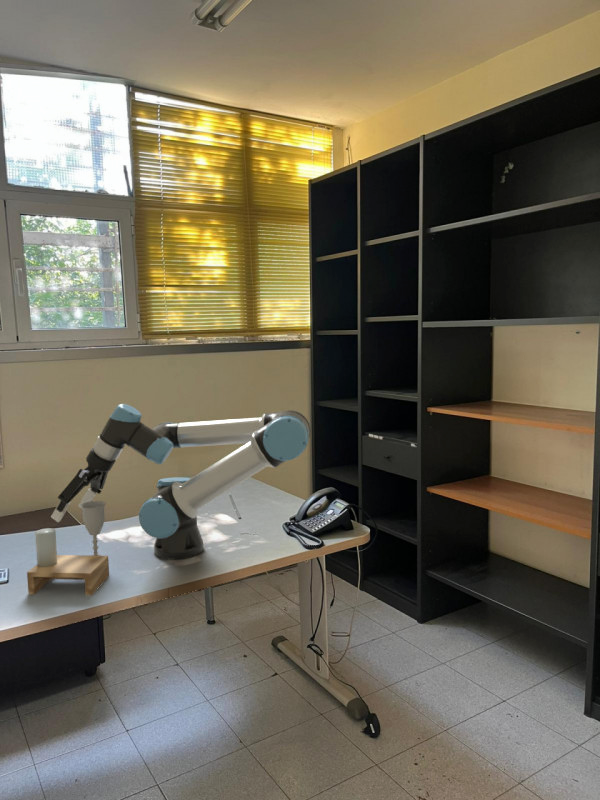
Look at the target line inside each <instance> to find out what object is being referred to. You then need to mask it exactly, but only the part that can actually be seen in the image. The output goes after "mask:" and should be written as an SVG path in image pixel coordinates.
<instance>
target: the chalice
mask: <svg viewBox="0 0 600 800" xmlns="http://www.w3.org/2000/svg"><path fill="white" fill-rule="evenodd" d="M106 505H107V503H106V502H105V501H101V500H92V501H91V502H86V503H83V504H81V505H80V506H81V508H82V509H81V508H80V509H81V510H82V522H83V525H84V526H85V529H86V530H87V532H88V535H90V536H92V542H91V543H92V544H93V546H92V550H93V554H91V556H103V555H102V554H99V552H98V548H99V546H98V542H99V540H98V538H97V537H98V535H100V534H101V531H102V529H103V526H104V524H105V519H106V518H105V517H106V516H105V513H106V512H105V506H106Z"/></svg>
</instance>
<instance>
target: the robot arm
mask: <svg viewBox="0 0 600 800" xmlns="http://www.w3.org/2000/svg"><path fill="white" fill-rule="evenodd" d="M141 419H142V413H141V412H140V411H139V410H138V409H137V408H135V407H133V406H132V405H129V404H126V403H121V404H118V405H117V406H116V407H115V409H114V410H113V412H112V413H111V414H110V416H109V418H108V420H107V422H106V423H105V425H104V427H103V429H102V431H101V433H100V434H99V435H98V436H96V439H97V440H95V443H94V445H93V448H91V449H90V451H89V453H88V455H87V456H86V457H85V459H86V463H87V467H85V468H84V469H83V468H80V469H79V470H78V472H77V473H76V475H75V476H74V477H73V478H72V480H71V481H70V482H69V483H68V484H67V485H66V487H65V488H64V489H63V490H62V491H61V493H60V494H59V495H58V496H57V499H58V500H59V501H58V504H57V506H56V507H55V508H54V511H53V512H52V514H51V516H50V518H52V519H53V520H54V521H55V522H57V523H61V521H62V519H63V517H64V515H65V514H66V512H67V510H68V508H69V507H70V506H71V501H72V500H73V499H74V498H75V497H76V496H77V495H78V494H79V493H80V492H81V491H82V490H83V489H84V488H85V487H87V486H89V485H90V488H87V490H86V492H85V493H84V494H83V497H82V499H81V500H80V502H79V503H78V506H77V507H78V508H79V509H81V510H82V508H81V506H80V505H81V504H83V503H86V502H91V501H94V499H95V497H96V495H97V494H98V495H100V494H101V492H102V490H103V489H104V487H105V483H106V480H107V477H108V473H109V472H110V471H111V470H112V468H113V466H114V465H115V463H116V460H118V458H119V457H120V454H121V453H122V451H123V449H124V448H125V446H127V447H129V448H130V449H132V450H134V451H135V452H137V453H139V454H140V455H142V457H144V458H146V460H148V461H151V462H153V463H154V464H157V465H162V464H163V463H164V462H165V461H166V460H167V459H168V458H169V456H170V454H171V453H172V451H173V450H174V449H179V448H180V449H181V448H189V447H190V448H191V447H205V446H206V447H207V446H209V447H210V446H222V445H223V446H224V445H241V444H244V445H241V446H240V447H238V448H237V449H235V450H233V451H232V452H230V453H229V454H227V455H226V456H224V457H223V458H221V459H219V460H218V461H216V462H215V463H213V464H212V465H210V466H209V467H207V468H205V469H203V470H202V471H200V472H199V473H198V474H195V475H194V476H193V477H178V476H176V477H168V478H167V477H165V478H161V479H158V481H157V485H156V490H157V491H156V492H155V493H154V494H153V495H152V496H150V498H148V499H147V500H145V501H144V503H142V506H141V508H140V509H139V512H138V521H139V525H140V527H141V528H142V530H143V531H144V532H145V533H146V534H147V535H149V536H150V537H152V538H155V541H154V545H153V552H154V553H153V554H154V555H155V556H156V557H158V558H161V559H163V560H164V559H165V560H182V559H183V560H184V559H187V558H191V557H194V556H198V555H199V554H201V553H202V552H203V551H204V549H205V547H204V539H203V536H202V534H201V531H200V529H199V526H198V514H199V510H200V509H201V508H204V507H205V506H206V505H207V504H209V503H212V501H215V499H218V498H219V497H220V496H223V495H224V494H225V493H227V492H229V491H230V490H231V489H234V488H235V487H236V486H238V485H240V484H241V483H243V482H245V481H246V480H247V479H249V478H251V477H253V476H254V475H256V474H257V473H259V472H260V471H262V470H263V469H266V468H267V467H269V468H273V469H274V468H277V467H279V466H280V465H282V464H285V462H288V461H292V460H294V459H297V458H298V457H299V456H301V455H302V454H303V453H304V452H305V450H306V448H307V446H308V443H309V438H310V437H311V436H310V435H311V425H310V422H309V420H308V419H307V417H306V416H305V415H303V413H301V412H299V411H296V410H289V409H288V410H283V411H276V412H270V413H269V412H267V413H263V414H262V415H261V416H260V417H259V416H258V417H245V418H243V417H242V418H232V419H217V420H204V421H202V420H201V421H190V422H189V421H188V422H187V421H186V422H176V423H175V422H171V421H168V422H162V423H160V424H158V425H156V426H155V427H152V428H151V427H149V426H148V425H146V424H144V423H143V422H141Z"/></svg>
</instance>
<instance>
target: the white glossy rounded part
mask: <svg viewBox="0 0 600 800" xmlns="http://www.w3.org/2000/svg"><path fill="white" fill-rule="evenodd" d="M34 535H35V546H36V547H35V548H36V549H35V551H36V563H37V564H36V565H38V566H39V567H49V566H53V565H55V564H56V563H57V555H58V551H57V550H58V549H57V534H56V529H55V528H50V527H49V528H42V529H38V530H36V531H35V532H34Z"/></svg>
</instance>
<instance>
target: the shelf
mask: <svg viewBox="0 0 600 800" xmlns="http://www.w3.org/2000/svg"><path fill="white" fill-rule="evenodd" d="M26 577H27V578H26V579H27V591H28V595H35V594H37V592H39V591H40V590H41V589H42V588H44V587H45V586H46V585H47V584H49V582H51V580H75V581H76V580H80V581H82V580H83V581H84V590H85V591H84V592H85V594H84V595H85V596H92V595H93V594H94V593H95V592H96V591H97V590H98V589H99V588H100V587H101V586H102V585H103V584H104V583H105V581H107V579H109V577H110V566H109V555H102V556H92V555H84V554H83V555H79V554H77V555H76V554H70V555H69V554H66V555H65V554H57V563H56V564H55V565H53V566H49V567H39V566H38V565H37V564H36V565H34V566H33V567H32V568H30V569H29V570H28V571H27V572H26ZM102 583H103V584H102ZM101 584H102V585H101ZM100 585H101V586H100ZM98 587H99V588H98ZM97 588H98V589H97Z"/></svg>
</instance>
